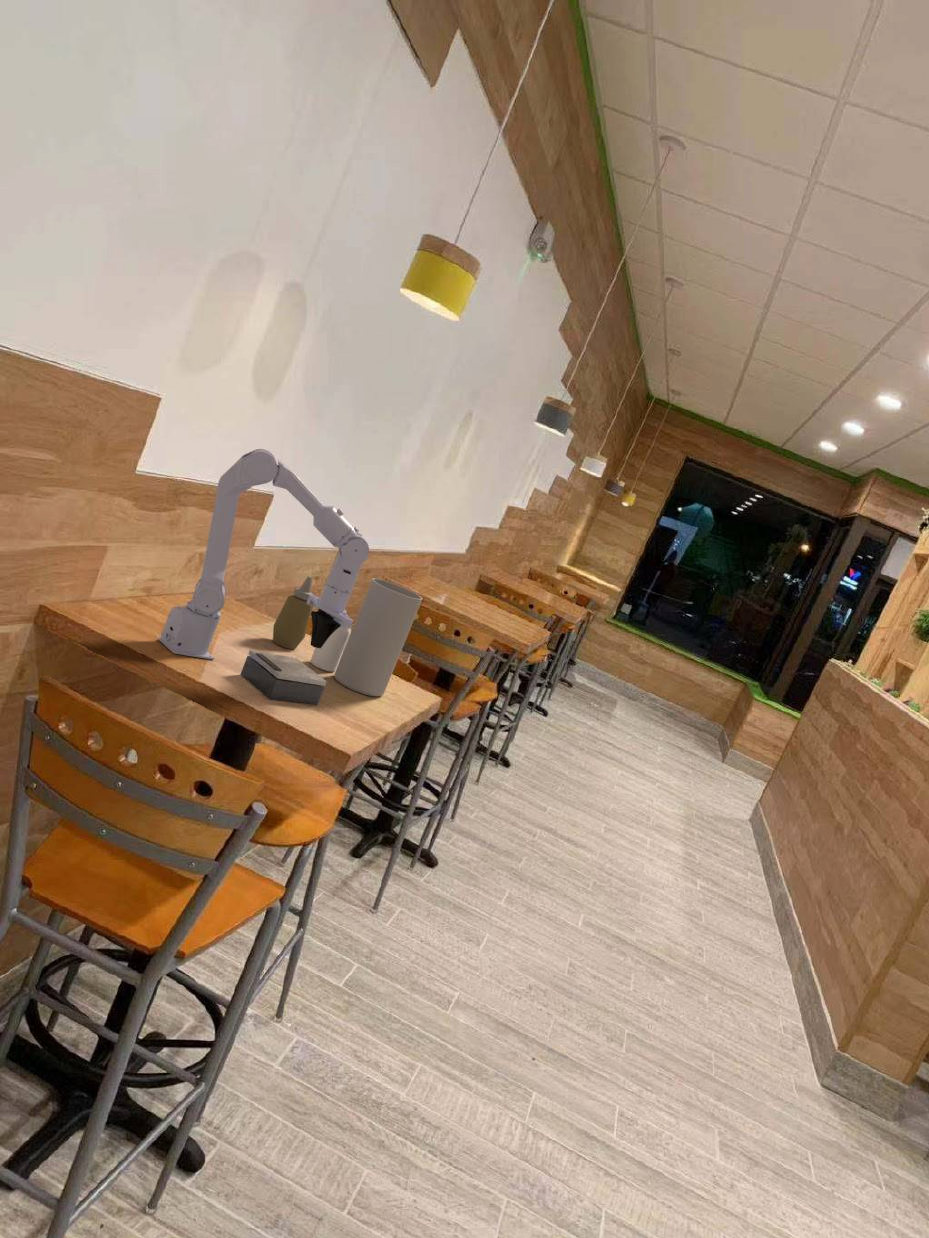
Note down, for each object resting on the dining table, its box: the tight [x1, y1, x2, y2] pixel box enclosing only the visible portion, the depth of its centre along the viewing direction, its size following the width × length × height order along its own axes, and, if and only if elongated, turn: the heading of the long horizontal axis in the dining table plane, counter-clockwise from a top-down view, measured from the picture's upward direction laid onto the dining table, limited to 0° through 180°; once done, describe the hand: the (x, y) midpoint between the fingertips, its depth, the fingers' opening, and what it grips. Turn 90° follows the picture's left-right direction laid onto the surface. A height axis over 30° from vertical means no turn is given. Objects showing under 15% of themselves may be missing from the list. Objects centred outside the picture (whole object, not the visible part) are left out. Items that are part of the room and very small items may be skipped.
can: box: [310, 626, 352, 673], centre depth 219 cm, size 6×6×12 cm
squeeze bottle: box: [272, 576, 314, 650], centre depth 224 cm, size 8×8×18 cm
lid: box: [248, 649, 328, 687], centre depth 187 cm, size 12×12×1 cm
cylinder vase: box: [334, 577, 423, 697], centre depth 214 cm, size 12×12×25 cm
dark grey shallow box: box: [239, 655, 325, 706], centre depth 188 cm, size 12×12×4 cm
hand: (315, 646), depth 195 cm, fingers closed
